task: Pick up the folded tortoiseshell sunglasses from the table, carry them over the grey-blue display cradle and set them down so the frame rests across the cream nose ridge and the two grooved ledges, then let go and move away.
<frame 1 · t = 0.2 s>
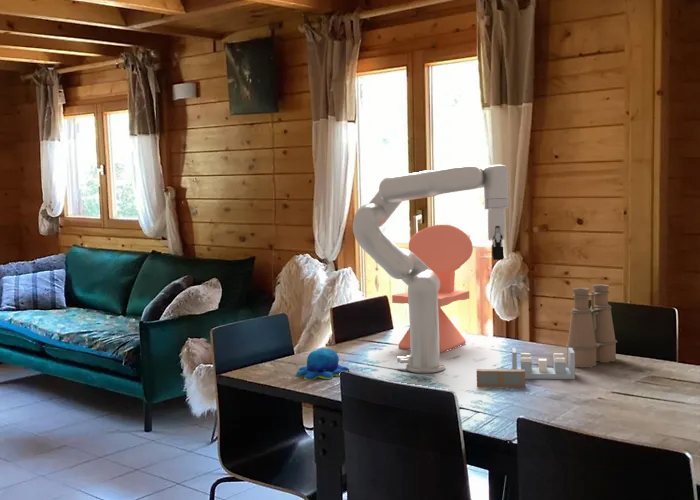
hand: (497, 258, 240), 36 cm above the table, tool pointing down, fingers open, 9 cm apart
chair: (433, 346, 284), on the table
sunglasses: (500, 386, 224), on the table
plush toy: (322, 374, 248), on the table
binoculars: (591, 362, 250), on the table
display cradle: (542, 375, 235), on the table
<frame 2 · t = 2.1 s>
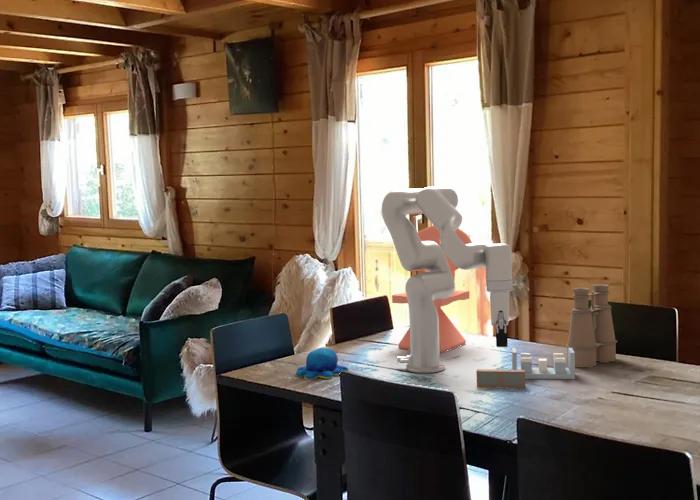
hand: (501, 343, 223), 13 cm above the table, tool pointing down, fingers open, 9 cm apart
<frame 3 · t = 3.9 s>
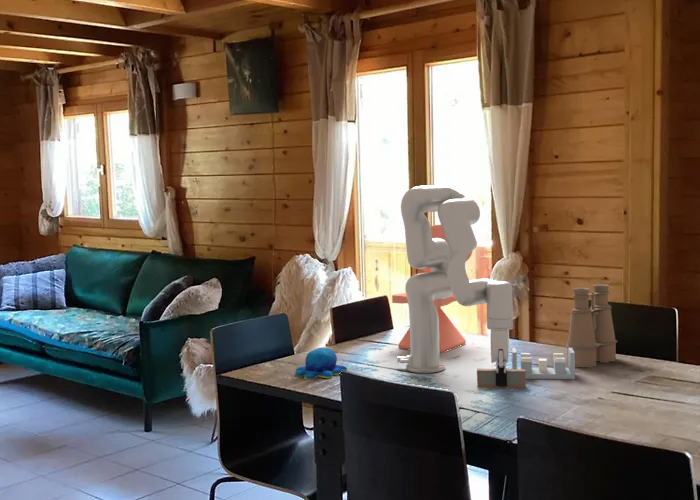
hand: (501, 383, 224), 1 cm above the table, tool pointing down, fingers closed on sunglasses, 3 cm apart
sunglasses: (501, 386, 224), on the table, touching gripper
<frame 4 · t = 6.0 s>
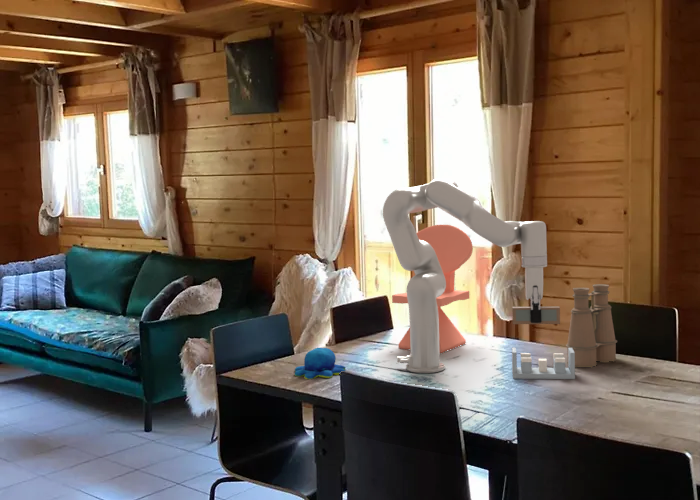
hand: (535, 320, 231), 18 cm above the table, tool pointing down, fingers closed on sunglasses, 3 cm apart
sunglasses: (536, 323, 231), point 17 cm above the table, touching gripper
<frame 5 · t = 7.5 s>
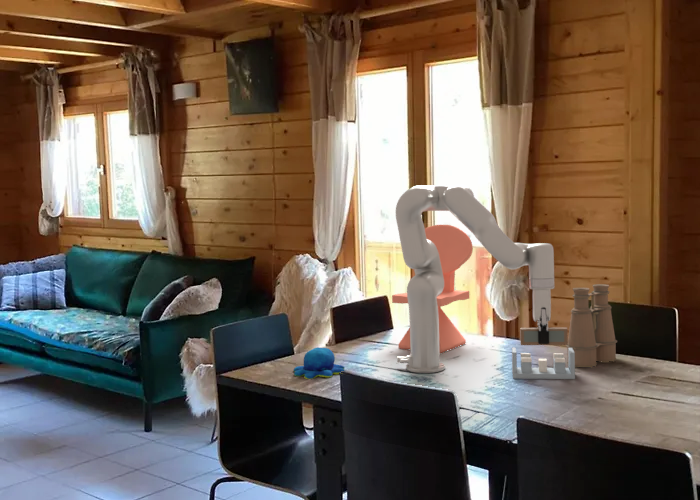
hand: (543, 341, 234), 11 cm above the table, tool pointing down, fingers closed on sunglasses, 3 cm apart
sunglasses: (543, 344, 233), point 10 cm above the table, touching gripper
when the fingers open (7 cm above the table, at t = 8.4 s): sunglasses drops 1 cm, resting on display cradle.
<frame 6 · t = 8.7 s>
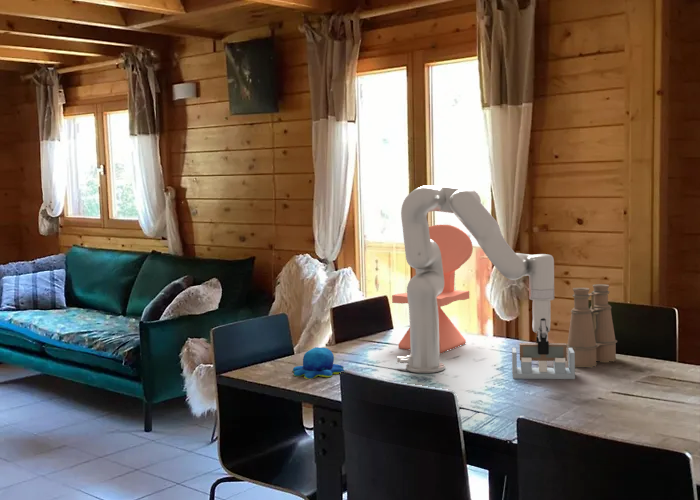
hand: (542, 351, 234), 8 cm above the table, tool pointing down, fingers open, 6 cm apart
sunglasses: (543, 359, 234), point 5 cm above the table, touching display cradle
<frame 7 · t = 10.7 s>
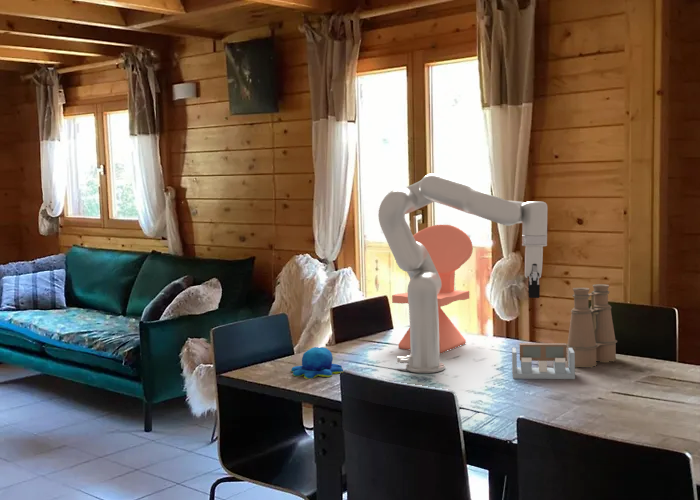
hand: (533, 295, 237), 25 cm above the table, tool pointing down, fingers open, 9 cm apart
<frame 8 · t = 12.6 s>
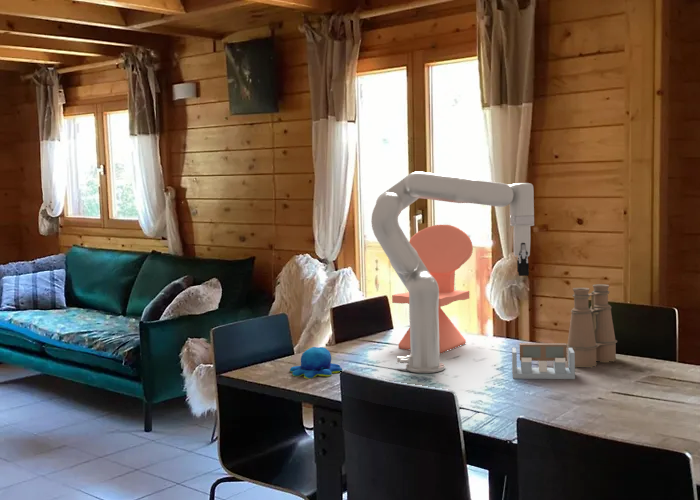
hand: (522, 273, 246), 30 cm above the table, tool pointing down, fingers open, 9 cm apart
at the end: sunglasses 0.3 cm off-centre on the display cradle, point 5.0 cm above the display cradle's base; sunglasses tilted 0°; the gripper is holding nothing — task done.
